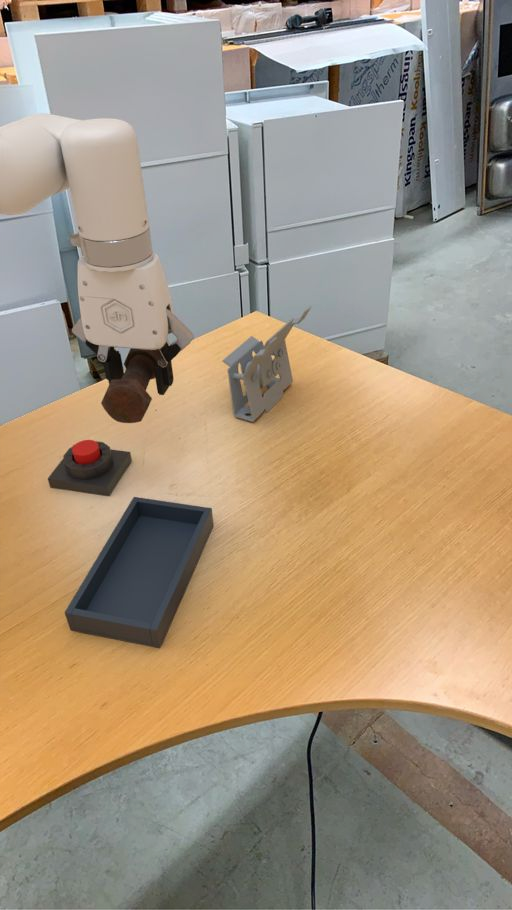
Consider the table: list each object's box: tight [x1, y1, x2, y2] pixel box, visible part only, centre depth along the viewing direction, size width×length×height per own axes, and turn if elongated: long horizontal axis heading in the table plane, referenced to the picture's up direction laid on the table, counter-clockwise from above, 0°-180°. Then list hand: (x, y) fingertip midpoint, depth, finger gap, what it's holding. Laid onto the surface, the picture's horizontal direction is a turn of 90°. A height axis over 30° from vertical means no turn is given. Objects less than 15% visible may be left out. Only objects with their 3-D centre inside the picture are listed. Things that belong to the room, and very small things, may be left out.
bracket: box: [222, 305, 313, 423], centre depth 102 cm, size 13×10×15 cm
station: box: [47, 440, 133, 497], centre depth 92 cm, size 9×8×4 cm
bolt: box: [100, 348, 157, 424], centre depth 81 cm, size 6×5×15 cm
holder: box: [64, 496, 214, 649], centre depth 77 cm, size 11×19×3 cm, turn 166°
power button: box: [72, 439, 101, 465], centre depth 91 cm, size 4×4×2 cm
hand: (141, 385), depth 83 cm, fingers closed on bolt, 5 cm apart
